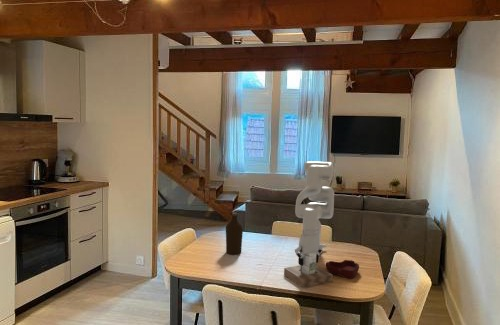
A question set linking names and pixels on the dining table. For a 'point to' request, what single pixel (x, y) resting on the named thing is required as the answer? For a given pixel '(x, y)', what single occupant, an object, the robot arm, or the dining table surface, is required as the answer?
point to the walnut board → (308, 276)
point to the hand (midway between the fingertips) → (308, 263)
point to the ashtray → (343, 268)
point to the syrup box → (309, 263)
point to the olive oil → (234, 236)
